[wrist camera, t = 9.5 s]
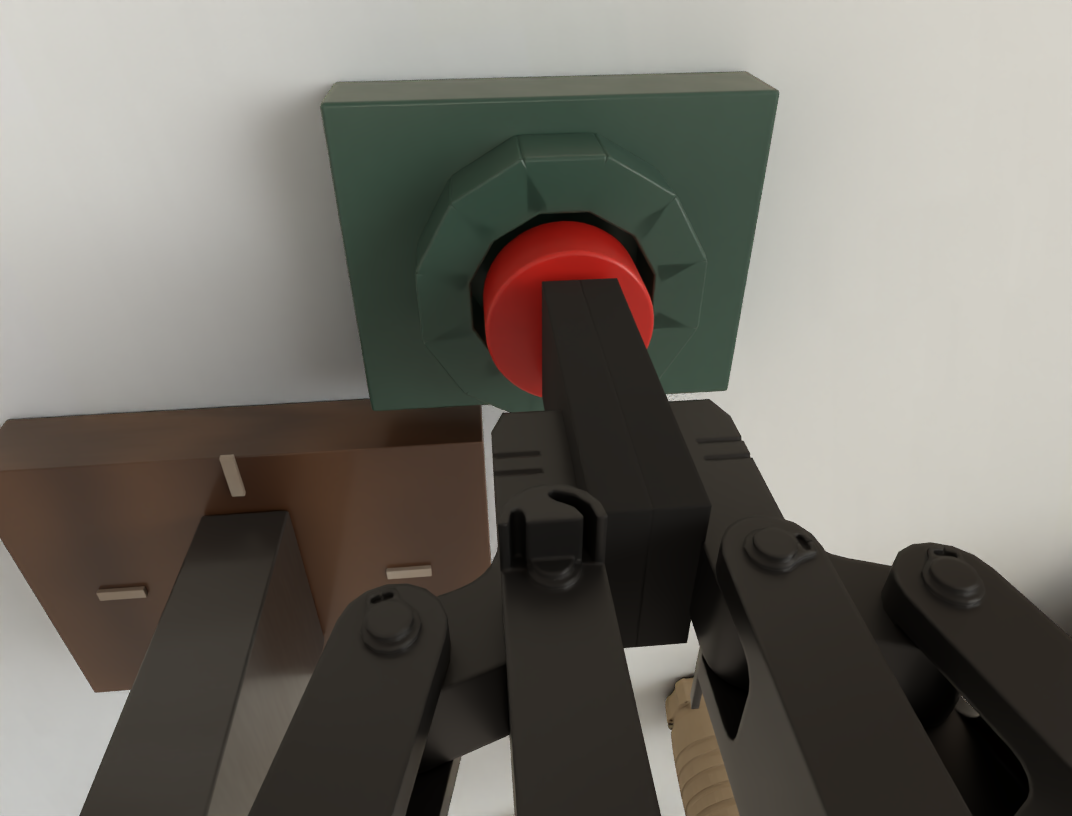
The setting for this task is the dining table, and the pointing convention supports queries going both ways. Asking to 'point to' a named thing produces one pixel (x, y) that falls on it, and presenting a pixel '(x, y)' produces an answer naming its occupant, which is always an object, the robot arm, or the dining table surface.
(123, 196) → the dining table surface
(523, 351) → the button
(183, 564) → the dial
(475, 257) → the button box
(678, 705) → the handle
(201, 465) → the panel
